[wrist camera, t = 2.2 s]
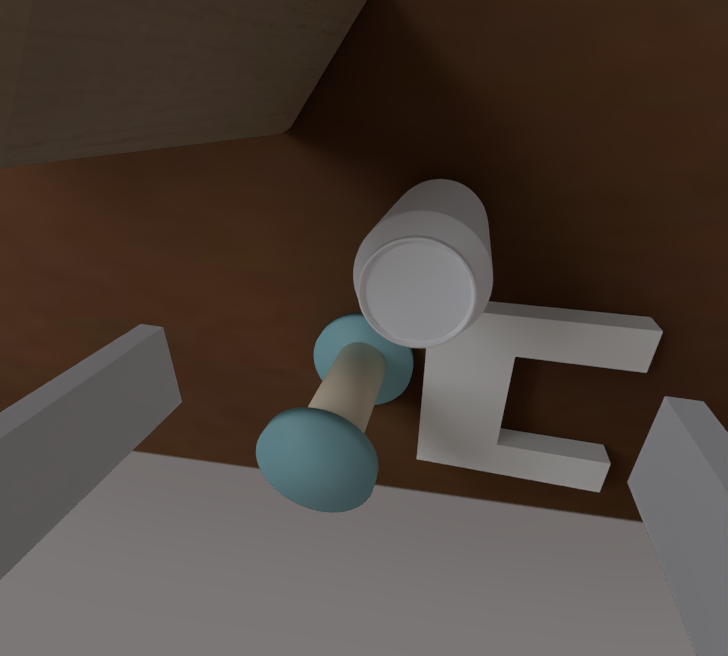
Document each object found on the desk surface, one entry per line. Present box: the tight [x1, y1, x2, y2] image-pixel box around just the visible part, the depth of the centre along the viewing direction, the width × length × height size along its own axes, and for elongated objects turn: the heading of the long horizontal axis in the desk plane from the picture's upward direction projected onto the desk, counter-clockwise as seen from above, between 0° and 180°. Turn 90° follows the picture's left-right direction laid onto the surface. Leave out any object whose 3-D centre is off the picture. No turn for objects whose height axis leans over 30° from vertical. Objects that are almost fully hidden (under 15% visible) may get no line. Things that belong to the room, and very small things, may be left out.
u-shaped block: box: [417, 301, 663, 492], centre depth 30 cm, size 14×14×2 cm
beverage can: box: [353, 179, 493, 348], centre depth 22 cm, size 6×6×12 cm
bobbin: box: [256, 313, 414, 512], centre depth 28 cm, size 8×8×12 cm
